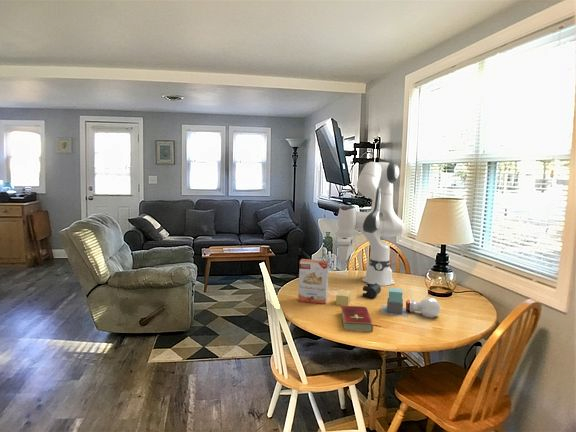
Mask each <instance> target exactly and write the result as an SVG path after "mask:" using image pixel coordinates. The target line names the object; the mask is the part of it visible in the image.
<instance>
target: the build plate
mask: <svg viewBox="0 0 576 432" xmlns="http://www.w3.org/2000/svg"><path fill="white" fill-rule="evenodd" d="M380 310H381V311H380V314H381V315H382V314H383V315H387V316H390V315H391V316H397V317H405V318H408V317H409V312H407V311H406V307H403V311H402V314H396V313H387V305H381V309H380Z"/></svg>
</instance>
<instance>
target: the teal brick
mask: <svg viewBox="0 0 576 432" xmlns="http://www.w3.org/2000/svg"><path fill="white" fill-rule="evenodd" d="M388 298H389V300H388V299H387V300H388V302H395V303H402V299H403V288H395V287H389V289H388Z"/></svg>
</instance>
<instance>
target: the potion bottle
mask: <svg viewBox="0 0 576 432" xmlns="http://www.w3.org/2000/svg"><path fill="white" fill-rule="evenodd" d="M405 308H406V311H407V312H408V313H409V312H410V313H411V314H412V313H417V312H418V313H420V314H421V315H422V316H423V317H426V318H431V319H434V318H437V316H439V314H440V313H441V309H442V308H441V304H440V302H439V301H438V300H437V299H436V298H433V297H431V296H428V297H424V298H422V300H421V301H420V302H419V301H415V300H414V299H413V298H412V299H411V300H410V299H407V300H406V301H405Z"/></svg>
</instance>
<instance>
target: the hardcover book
mask: <svg viewBox="0 0 576 432" xmlns="http://www.w3.org/2000/svg"><path fill="white" fill-rule="evenodd" d="M340 308H341V318H342V322H343V329H344V331H356V332H357V331H358V332H371V333H373V331H374V325H373V321H372V318H371V317H370V313H369V311H368V310H369V309H368V308H367V306H365V305H364V306H362V305H361V306H359V305H348V306H343V305H340Z"/></svg>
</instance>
